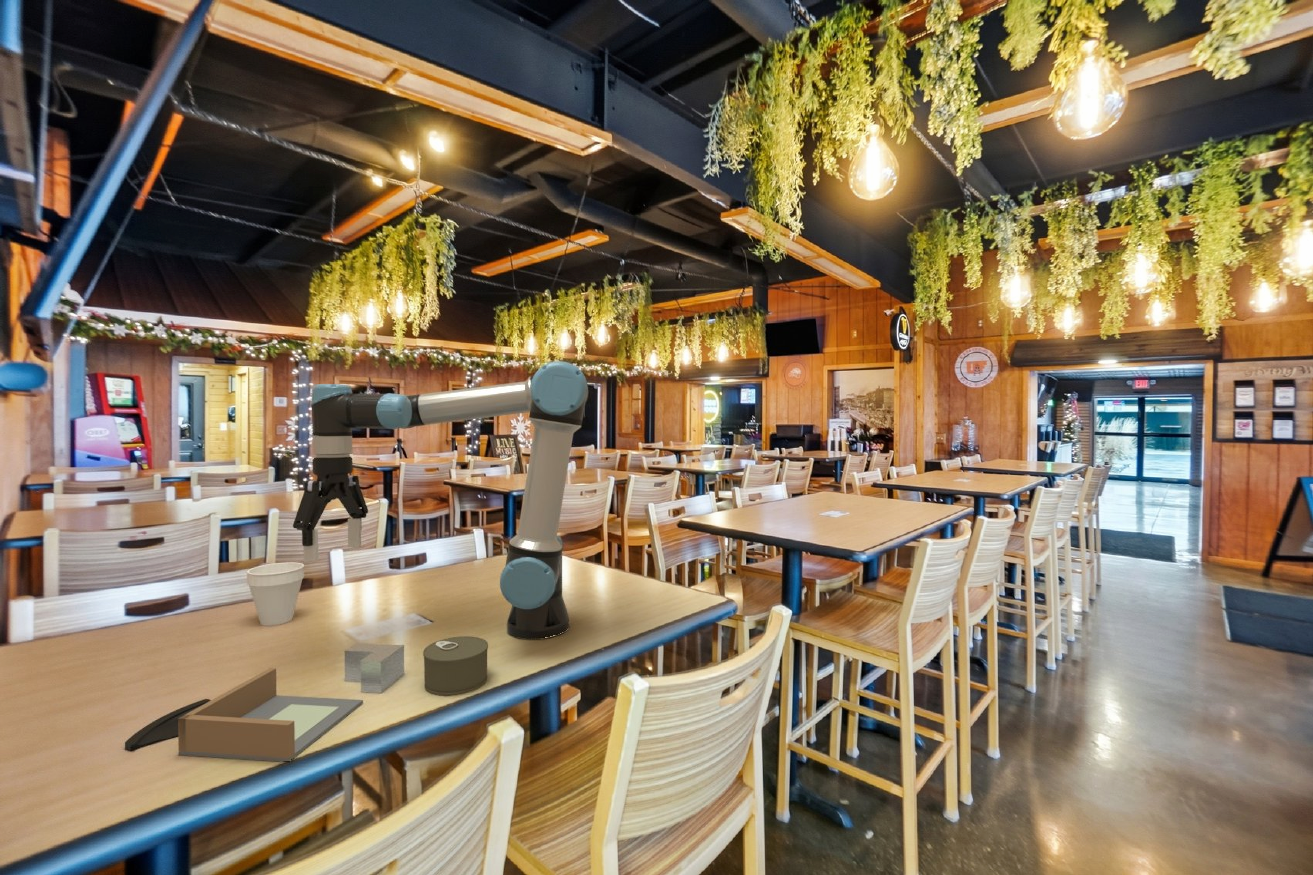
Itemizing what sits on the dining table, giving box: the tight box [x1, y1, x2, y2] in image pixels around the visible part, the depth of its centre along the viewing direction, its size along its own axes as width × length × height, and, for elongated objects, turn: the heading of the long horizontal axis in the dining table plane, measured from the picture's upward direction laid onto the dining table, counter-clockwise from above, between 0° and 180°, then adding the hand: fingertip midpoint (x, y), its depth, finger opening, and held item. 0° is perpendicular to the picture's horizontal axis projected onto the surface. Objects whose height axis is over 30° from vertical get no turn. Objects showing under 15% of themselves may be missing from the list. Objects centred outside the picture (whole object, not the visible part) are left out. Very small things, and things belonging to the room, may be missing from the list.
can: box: [422, 635, 489, 697], centre depth 111 cm, size 12×12×7 cm
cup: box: [246, 561, 305, 627], centre depth 145 cm, size 12×12×14 cm
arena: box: [177, 667, 364, 762], centre depth 94 cm, size 18×18×6 cm
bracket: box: [344, 642, 405, 694], centre depth 111 cm, size 10×8×6 cm
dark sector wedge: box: [124, 698, 212, 752], centre depth 94 cm, size 8×14×2 cm, turn 156°
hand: (334, 553), depth 123 cm, fingers open, 13 cm apart
